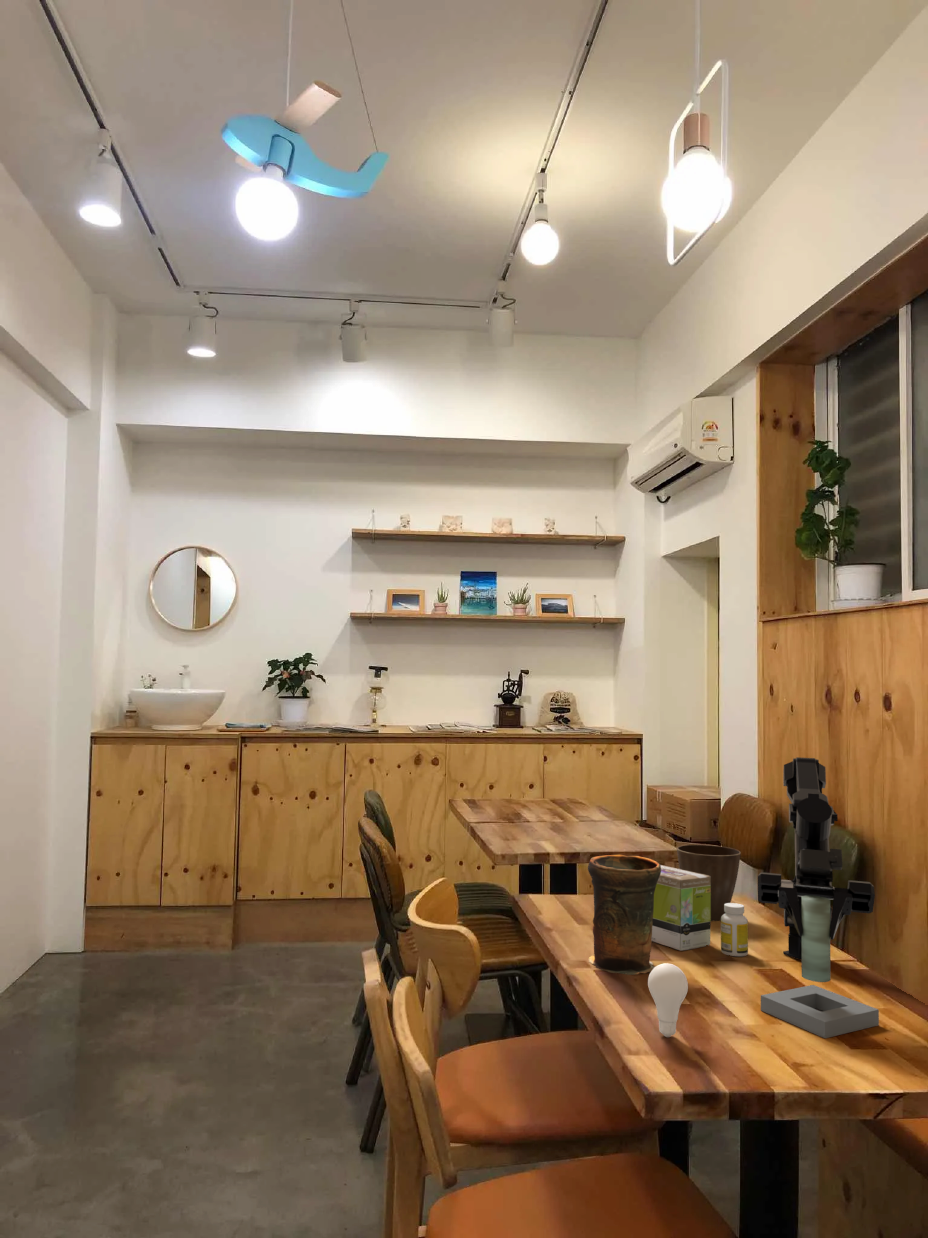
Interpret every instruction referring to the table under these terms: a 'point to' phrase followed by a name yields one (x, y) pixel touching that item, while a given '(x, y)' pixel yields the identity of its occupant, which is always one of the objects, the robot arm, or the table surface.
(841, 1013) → the holder board
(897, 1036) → the table surface
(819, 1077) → the table surface
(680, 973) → the lightbulb
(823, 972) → the peg
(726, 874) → the plant pot
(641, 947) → the vessel
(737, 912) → the supplement bottle
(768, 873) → the robot arm
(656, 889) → the tea box
